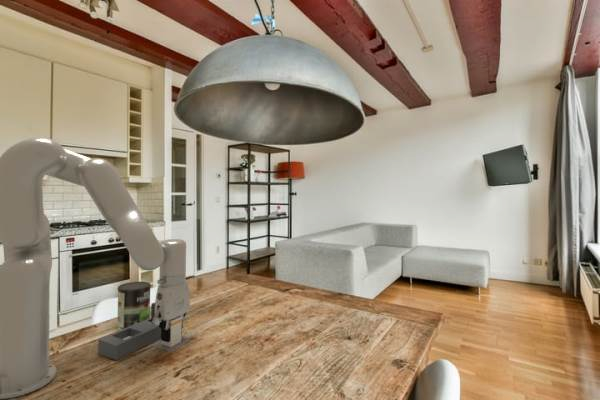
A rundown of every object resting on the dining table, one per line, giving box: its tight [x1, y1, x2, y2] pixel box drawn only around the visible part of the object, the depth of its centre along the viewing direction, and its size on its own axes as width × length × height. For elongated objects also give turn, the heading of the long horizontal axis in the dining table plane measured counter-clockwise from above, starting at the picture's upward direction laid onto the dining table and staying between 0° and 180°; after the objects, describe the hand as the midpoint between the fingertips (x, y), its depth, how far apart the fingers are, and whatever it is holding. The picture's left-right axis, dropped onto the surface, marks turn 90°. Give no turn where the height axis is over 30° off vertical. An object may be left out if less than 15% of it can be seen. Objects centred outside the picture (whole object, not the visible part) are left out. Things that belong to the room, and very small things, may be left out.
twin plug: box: [150, 302, 160, 322], centre depth 102 cm, size 4×4×9 cm
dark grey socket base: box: [97, 317, 184, 361], centre depth 96 cm, size 24×8×4 cm, turn 156°
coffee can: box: [116, 281, 152, 331], centre depth 107 cm, size 10×10×14 cm
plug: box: [162, 316, 183, 347], centre depth 94 cm, size 4×4×9 cm
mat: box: [151, 337, 191, 353], centre depth 94 cm, size 8×8×1 cm
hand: (171, 337), depth 94 cm, fingers closed on plug, 3 cm apart
